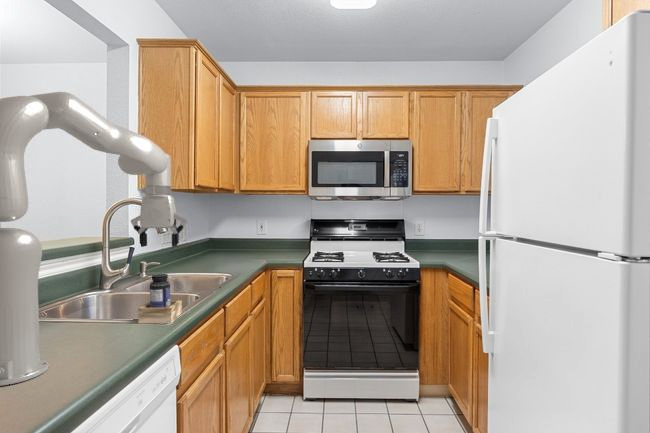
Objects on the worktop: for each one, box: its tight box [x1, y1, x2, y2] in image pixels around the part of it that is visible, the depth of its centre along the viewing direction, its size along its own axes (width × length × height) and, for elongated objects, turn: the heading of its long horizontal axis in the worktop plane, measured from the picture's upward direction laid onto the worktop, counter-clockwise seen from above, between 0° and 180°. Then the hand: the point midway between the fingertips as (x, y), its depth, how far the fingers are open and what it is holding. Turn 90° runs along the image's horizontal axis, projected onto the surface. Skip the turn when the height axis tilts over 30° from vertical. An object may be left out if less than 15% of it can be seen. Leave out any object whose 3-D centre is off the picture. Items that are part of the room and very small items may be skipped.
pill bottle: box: [149, 273, 172, 308], centre depth 130 cm, size 6×6×11 cm
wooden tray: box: [137, 300, 183, 324], centre depth 131 cm, size 10×10×4 cm
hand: (159, 246), depth 130 cm, fingers open, 9 cm apart
